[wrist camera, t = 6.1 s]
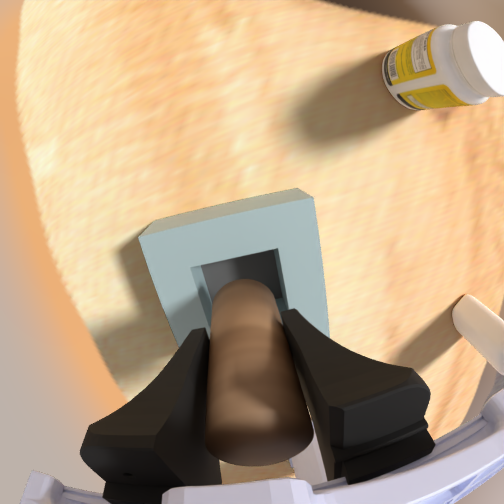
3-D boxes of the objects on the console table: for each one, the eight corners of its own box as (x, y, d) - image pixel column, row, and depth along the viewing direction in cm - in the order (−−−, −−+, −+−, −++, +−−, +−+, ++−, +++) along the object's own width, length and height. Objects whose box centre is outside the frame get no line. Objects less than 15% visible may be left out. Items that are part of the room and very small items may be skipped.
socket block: (315, 313, 21) (330, 341, 17) (194, 339, 21) (189, 370, 17) (297, 187, 18) (313, 197, 14) (154, 220, 18) (138, 237, 14)
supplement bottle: (443, 96, 16) (528, 89, 8) (404, 121, 16) (495, 119, 9) (410, 39, 14) (488, 8, 6) (366, 60, 15) (446, 22, 7)
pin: (279, 327, 15) (313, 456, 8) (219, 337, 15) (218, 470, 8) (272, 273, 14) (314, 401, 7) (206, 284, 14) (191, 418, 7)
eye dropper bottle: (482, 282, 22) (565, 346, 10) (476, 326, 23) (544, 393, 12) (451, 299, 22) (537, 378, 10) (447, 344, 24) (513, 421, 12)
